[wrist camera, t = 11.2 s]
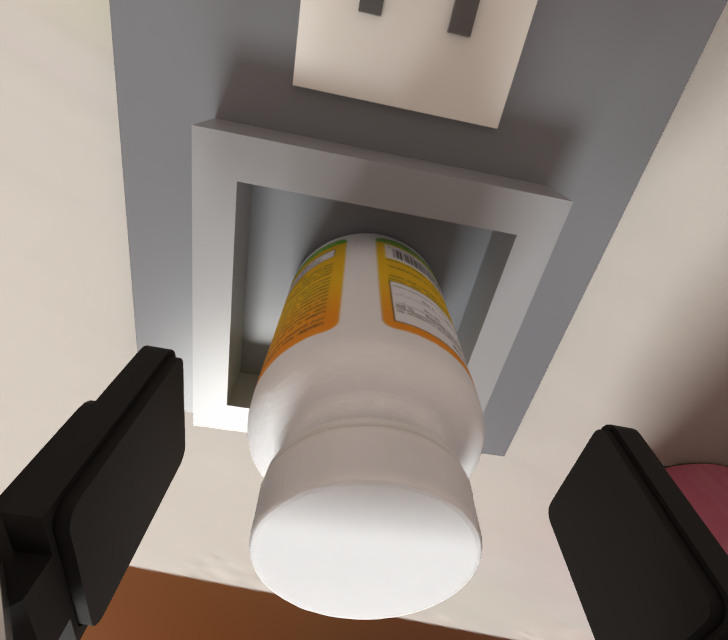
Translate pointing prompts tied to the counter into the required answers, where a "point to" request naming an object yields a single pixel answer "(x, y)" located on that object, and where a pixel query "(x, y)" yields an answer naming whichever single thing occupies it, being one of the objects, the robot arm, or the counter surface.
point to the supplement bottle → (365, 438)
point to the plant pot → (706, 495)
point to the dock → (385, 165)
